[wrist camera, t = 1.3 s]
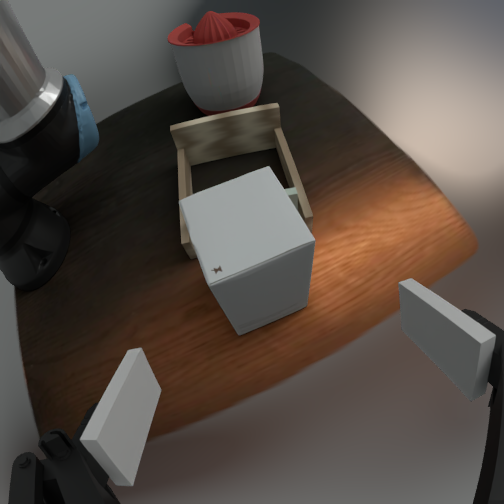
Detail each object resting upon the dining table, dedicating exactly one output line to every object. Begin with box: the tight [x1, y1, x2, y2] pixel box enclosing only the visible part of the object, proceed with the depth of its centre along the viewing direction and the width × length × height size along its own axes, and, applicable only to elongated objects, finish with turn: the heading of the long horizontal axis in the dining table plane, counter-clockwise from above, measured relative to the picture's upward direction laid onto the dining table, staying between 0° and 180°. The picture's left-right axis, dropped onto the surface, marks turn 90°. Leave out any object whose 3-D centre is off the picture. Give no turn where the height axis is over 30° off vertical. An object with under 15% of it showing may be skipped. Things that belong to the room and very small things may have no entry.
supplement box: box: [179, 166, 315, 335], centre depth 32 cm, size 9×9×15 cm
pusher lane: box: [170, 103, 313, 259], centre depth 42 cm, size 16×18×8 cm
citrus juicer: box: [168, 11, 263, 116], centre depth 49 cm, size 16×17×20 cm
